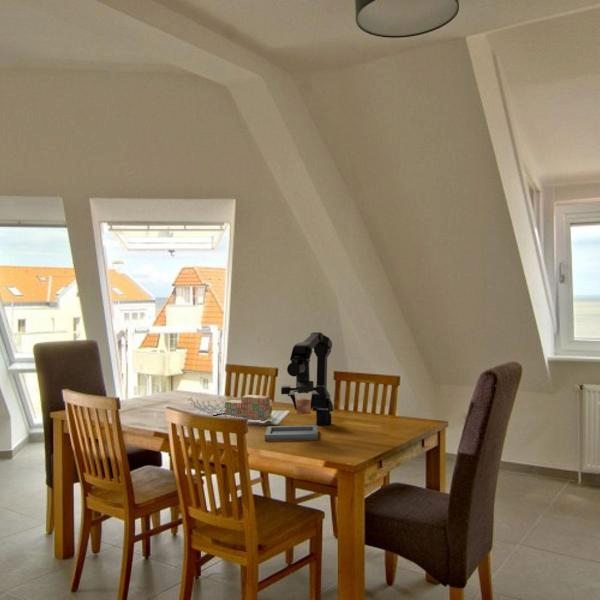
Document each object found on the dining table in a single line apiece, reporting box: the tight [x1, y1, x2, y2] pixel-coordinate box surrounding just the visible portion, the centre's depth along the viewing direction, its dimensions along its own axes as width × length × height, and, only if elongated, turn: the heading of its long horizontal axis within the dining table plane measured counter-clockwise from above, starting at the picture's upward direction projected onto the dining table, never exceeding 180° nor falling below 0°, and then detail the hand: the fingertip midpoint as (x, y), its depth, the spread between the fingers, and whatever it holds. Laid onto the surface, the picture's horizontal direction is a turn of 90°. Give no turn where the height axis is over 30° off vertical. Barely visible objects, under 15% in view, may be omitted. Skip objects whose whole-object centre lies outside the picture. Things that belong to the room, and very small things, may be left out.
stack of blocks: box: [224, 394, 271, 421], centre depth 287 cm, size 21×6×12 cm, turn 66°
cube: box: [295, 396, 312, 415], centre depth 254 cm, size 6×6×6 cm
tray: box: [264, 424, 319, 441], centre depth 255 cm, size 22×16×2 cm
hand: (303, 409), depth 254 cm, fingers closed on cube, 6 cm apart
